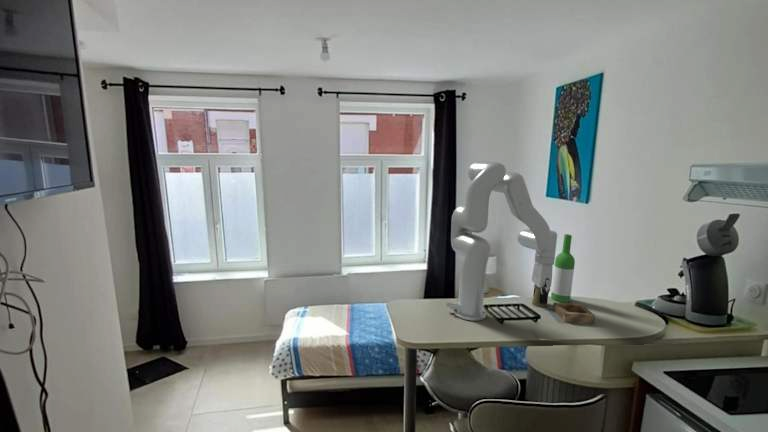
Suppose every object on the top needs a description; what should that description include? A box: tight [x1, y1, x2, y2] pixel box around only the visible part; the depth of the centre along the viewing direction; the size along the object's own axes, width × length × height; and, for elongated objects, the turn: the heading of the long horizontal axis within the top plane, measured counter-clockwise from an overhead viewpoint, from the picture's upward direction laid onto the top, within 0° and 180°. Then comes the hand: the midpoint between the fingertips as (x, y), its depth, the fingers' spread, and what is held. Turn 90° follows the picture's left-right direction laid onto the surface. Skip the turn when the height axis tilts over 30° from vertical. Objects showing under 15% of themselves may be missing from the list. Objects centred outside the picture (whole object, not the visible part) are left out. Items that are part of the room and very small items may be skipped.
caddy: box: [552, 302, 596, 324], centre depth 143 cm, size 11×11×4 cm
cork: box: [531, 283, 548, 309], centre depth 154 cm, size 6×6×11 cm
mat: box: [545, 308, 597, 327], centre depth 144 cm, size 14×13×1 cm
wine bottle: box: [550, 233, 575, 303], centre depth 160 cm, size 8×8×30 cm
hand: (540, 299), depth 155 cm, fingers open, 6 cm apart
